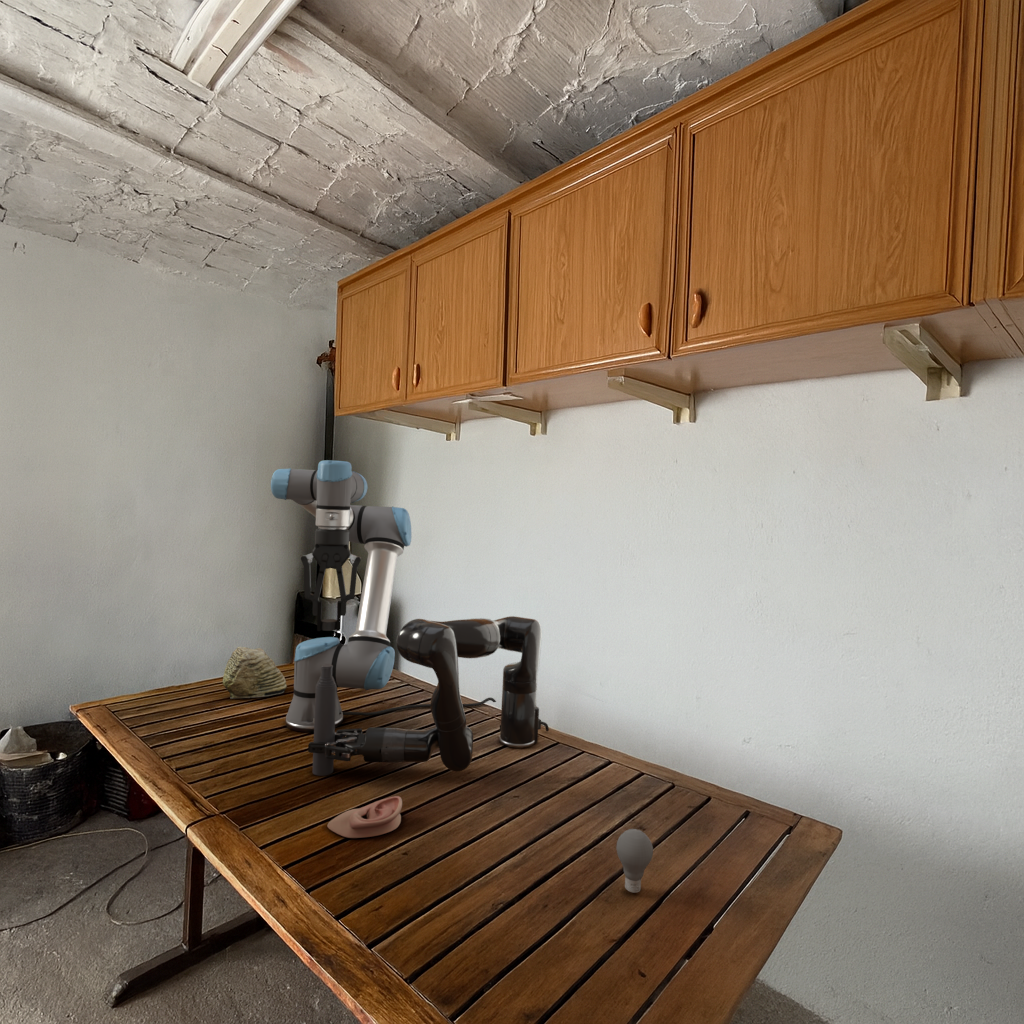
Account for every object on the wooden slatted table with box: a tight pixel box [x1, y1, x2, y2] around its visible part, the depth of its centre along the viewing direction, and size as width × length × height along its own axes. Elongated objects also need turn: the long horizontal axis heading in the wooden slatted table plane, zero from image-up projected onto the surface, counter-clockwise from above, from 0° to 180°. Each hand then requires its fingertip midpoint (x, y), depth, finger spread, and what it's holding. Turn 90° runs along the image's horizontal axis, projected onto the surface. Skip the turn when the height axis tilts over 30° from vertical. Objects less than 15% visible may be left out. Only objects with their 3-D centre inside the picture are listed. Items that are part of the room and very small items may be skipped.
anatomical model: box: [327, 795, 403, 839], centre depth 123 cm, size 13×4×12 cm
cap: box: [321, 618, 337, 632], centre depth 146 cm, size 4×4×2 cm
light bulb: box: [615, 828, 654, 894], centre depth 106 cm, size 6×6×10 cm
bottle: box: [312, 664, 338, 777], centre depth 146 cm, size 5×5×25 cm
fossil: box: [222, 646, 288, 699], centre depth 198 cm, size 9×18×15 cm, turn 132°
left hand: (328, 629), depth 146 cm, fingers closed on cap, 4 cm apart
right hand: (312, 742), depth 146 cm, fingers closed on bottle, 4 cm apart
